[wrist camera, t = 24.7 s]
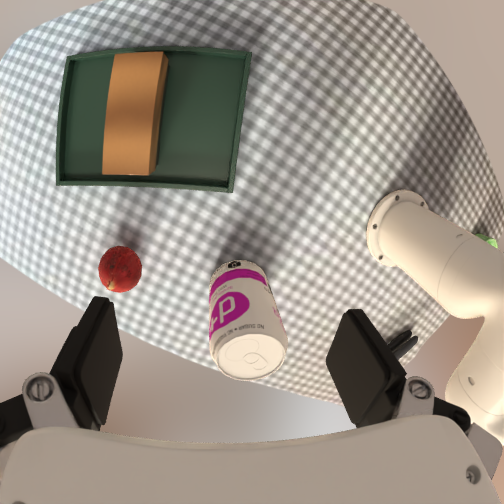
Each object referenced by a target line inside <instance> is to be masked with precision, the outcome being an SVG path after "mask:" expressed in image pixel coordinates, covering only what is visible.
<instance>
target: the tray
mask: <svg viewBox="0 0 504 504" xmlns="http://www.w3.org/2000/svg"><path fill="white" fill-rule="evenodd" d="M136 52H164V54H165V55H166V57H167V58H168V65H169V66H170V69H169V75H168V81H167V88H166V95H165V102H164V110H163V118H162V128H161V137H160V149H159V161H158V165H157V166H156V170H155V171H154V172H152V173H151V174H150V175H119V174H102V171H103V145H104V131H105V119H106V110H107V101H108V93H109V86H110V80H111V74H112V68H113V62H114V57H115V54H122V53H136ZM251 57H252V52H247V51H239V50H231V49H220V48H208V47H187V46H153V47H133V48H121V49H111V50H103V51H95V52H89V53H82V54H77V55H71V56H67V59H66V64H65V69H64V75H63V81H62V87H61V94H60V102H59V112H58V123H57V139H56V186H129V187H153V188H172V189H188V190H202V191H214V192H226V193H227V192H228V193H233V187H234V179H235V171H236V163H237V155H238V147H239V140H240V132H241V125H242V118H243V111H244V104H245V97H246V90H247V83H248V77H249V70H250V64H251Z"/></svg>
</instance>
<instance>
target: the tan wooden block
mask: <svg viewBox="0 0 504 504" xmlns="http://www.w3.org/2000/svg"><path fill="white" fill-rule="evenodd" d="M169 69H170V66H169V65H168V58H167V57H166V55H165V54H164V52H136V53H122V54H115V57H114V62H113V68H112V74H111V80H110V86H109V93H108V101H107V110H106V119H105V131H104V145H103V171H102V174H119V175H150V174H151V173H152V172H154V171H155V170H156V166H157V165H158V161H159V149H160V137H161V128H162V118H163V110H164V102H165V95H166V88H167V81H168V75H169Z"/></svg>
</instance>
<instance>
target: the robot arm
mask: <svg viewBox="0 0 504 504" xmlns="http://www.w3.org/2000/svg"><path fill="white" fill-rule="evenodd" d="M366 238H367V245H368V248H369V251H370V253H371V254H372V256H373V257H374V258H375V259H376V260H377V261H378V262H379V263H381V264H383V265H386V266H392V267H394V266H399V267H400V268H401V269H402V270H403V271H404V272H406V273H407V274H408V275H409V276H410V277H411V278H412V279H413V280H414V281H416V282H417V283H418V284H419V285H420V286H421V287H422V288H423V289H424V290H425V291H426V292H427V293H428V294H430V295H431V296H432V297H433V298H434V299H435V300H436V301H437V302H438V303H439V304H440V305H441V306H442V307H443V308H444V309H445V310H446V311H447V312H449V313H450V314H451V315H453V316H455V317H458V318H464V319H468V318H476V317H481V316H484V317H485V321H484V324H483V326H482V328H481V330H480V332H479V334H478V336H477V338H476V339H475V341H474V343H473V344H472V346H471V347H470V349H469V350H468V352H467V353H466V355H465V356H464V358H463V359H462V361H461V362H460V364H459V365H458V366H457V368H456V369H455V371H454V372H453V374H452V375H451V377H450V379H449V381H448V383H447V386H446V391H445V398H446V401H444V400H441V399H439V398H437V397H434V395H435V393H434V388H433V386H432V385H431V384H430V382H428V381H427V380H426V379H424V378H422V377H418V376H413V377H410V378H409V379H406V378H405V376H406V374H407V373H406V372H405V370H404V368H403V367H402V366H401V364H400V363H399V361H398V360H397V358H396V357H395V355H394V354H393V352H392V351H391V349H390V348H389V347H388V345H387V344H386V342H385V341H384V339H383V338H382V337H381V335H380V334H379V332H378V331H377V329H376V328H375V327H374V325H373V324H372V323H371V321H370V320H369V318H368V317H367V316H366V314H365V313H364V311H363V310H362V309H349V310H348V311H347V312H346V313H344V314H343V316H342V319H341V321H340V324H339V327H338V329H337V332H336V335H335V337H334V340H333V342H332V345H331V347H330V350H329V352H328V355H327V357H326V365H327V367H328V370H329V372H330V374H331V376H332V379H333V381H334V383H335V386H336V388H337V390H338V392H339V395H340V397H341V399H342V402H343V404H344V406H345V408H346V411H347V413H348V416H349V418H350V420H351V422H352V423H353V424H355V425H356V427H357V428H356V429H352V430H347V431H342V432H337V433H331V434H326V435H319V436H314V437H306V438H298V439H289V440H279V441H267V442H252V443H193V442H177V441H164V440H155V439H146V438H138V437H130V436H124V435H118V434H112V433H107V432H100V427H101V425H105V423H106V419H107V415H108V410H109V406H110V402H111V398H112V394H113V391H114V387H115V383H116V379H117V376H118V372H119V369H120V364H121V362H122V356H123V353H122V347H121V342H120V337H119V332H118V327H117V321H116V316H115V310H114V304H113V302H110V301H109V298H106V297H98V296H94V297H93V299H92V301H91V302H90V304H89V306H88V308H87V309H86V311H85V313H84V315H83V316H82V318H81V320H80V322H79V324H78V325H77V326H75V327H73V329H72V330H71V332H70V334H69V336H68V338H67V339H66V341H65V343H64V345H63V347H62V349H61V351H60V353H59V355H58V357H57V359H56V361H55V363H54V365H53V367H52V369H51V371H50V373H49V374H48V373H43V372H40V373H35V374H33V375H31V376H29V377H28V378H27V379H26V380H25V382H24V384H23V387H22V393H23V394H21V395H18V396H16V397H14V398H11V399H9V400H7V401H4V402H2V403H0V504H501V502H500V499H499V497H498V494H497V492H496V490H495V487H494V485H493V483H492V481H491V480H492V478H493V476H494V473H495V471H496V468H497V465H498V463H499V460H500V457H501V454H502V445H503V446H504V252H502V251H501V250H499V249H497V248H496V247H494V246H492V245H490V244H489V243H487V242H486V241H484V240H482V239H481V238H479V237H477V236H475V235H474V234H472V233H470V232H468V231H467V230H465V229H463V228H461V227H460V226H458V225H456V224H454V223H452V222H451V221H449V220H447V219H445V218H443V217H441V216H439V215H437V214H435V213H433V212H431V211H429V208H428V206H427V204H426V202H425V200H424V199H423V198H422V197H421V196H420V195H419V194H417V193H415V192H413V191H409V190H397V191H394V192H392V193H390V194H388V195H387V196H385V197H384V198H383V199H382V200H381V201H380V202H379V203H378V204H377V206H376V207H375V209H374V210H373V212H372V214H371V216H370V219H369V222H368V225H367V232H366ZM94 430H95V431H94Z"/></svg>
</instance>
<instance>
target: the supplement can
mask: <svg viewBox="0 0 504 504" xmlns="http://www.w3.org/2000/svg"><path fill="white" fill-rule="evenodd" d="M209 346H210V353H211V357H212V359H213V360H214V362H215V363H216V364H217V365H218V368H219V369H220V370H221V372H222V373H223V374H225V375H226V376H228V377H231V378H232V379H237V380H242V381H250V380H257V379H261V378H265V377H267V376H269V375H271V374H272V373H274V372H275V371H276V370H277V369H278V368H279V367H280V366H281V365H282V363H283V361H284V359H285V353H286V351H287V348H288V338H287V335H286V332H285V329H284V326H283V323H282V320H281V317H280V314H279V311H278V309H277V306H276V303H275V300H274V297H273V294H272V291H271V288H270V285H269V282H268V279H267V277H266V275H265V273H264V271H263V270H262V269H261V268H260V267H259V266H257V265H256V264H254V263H252V262H249V261H246V260H235V261H231V262H228V263H225V264H223V265H222V266H221V267H219V268H218V269H217V270H216V271H215V273H214V274H213V276H212V277H211V281H210V288H209Z"/></svg>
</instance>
